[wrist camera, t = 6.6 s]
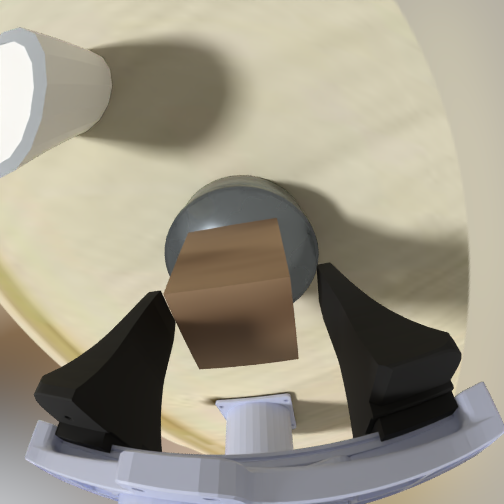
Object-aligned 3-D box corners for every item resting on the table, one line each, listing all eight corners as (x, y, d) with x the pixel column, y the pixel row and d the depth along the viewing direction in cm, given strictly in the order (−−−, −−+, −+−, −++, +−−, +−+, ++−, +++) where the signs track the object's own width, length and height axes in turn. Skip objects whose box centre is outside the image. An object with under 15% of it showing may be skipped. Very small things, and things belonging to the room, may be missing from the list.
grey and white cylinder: (105, 21, 10) (32, -4, 4) (136, 113, 13) (65, 128, 7) (28, 80, 11) (-48, 92, 5) (55, 162, 14) (-17, 202, 8)
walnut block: (286, 290, 16) (298, 358, 12) (210, 300, 16) (199, 369, 12) (276, 217, 14) (290, 276, 9) (188, 232, 14) (163, 294, 10)
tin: (310, 282, 19) (318, 310, 17) (194, 295, 20) (187, 324, 17) (303, 163, 15) (315, 176, 13) (162, 185, 16) (145, 202, 13)
